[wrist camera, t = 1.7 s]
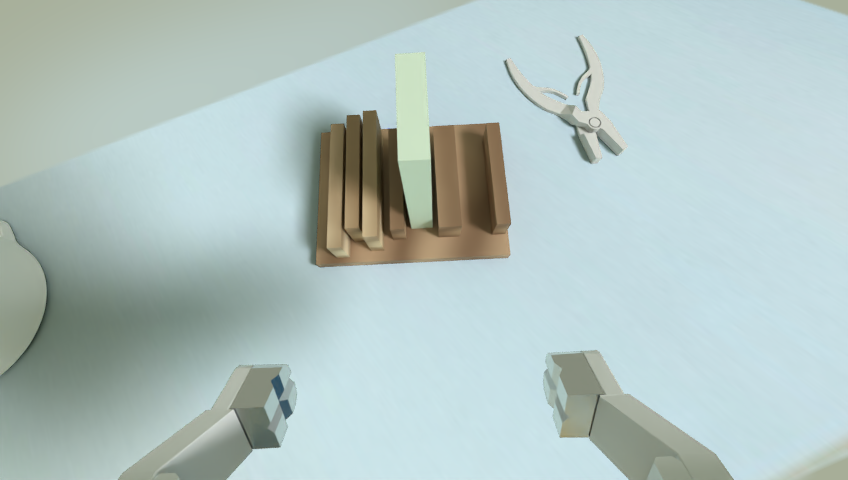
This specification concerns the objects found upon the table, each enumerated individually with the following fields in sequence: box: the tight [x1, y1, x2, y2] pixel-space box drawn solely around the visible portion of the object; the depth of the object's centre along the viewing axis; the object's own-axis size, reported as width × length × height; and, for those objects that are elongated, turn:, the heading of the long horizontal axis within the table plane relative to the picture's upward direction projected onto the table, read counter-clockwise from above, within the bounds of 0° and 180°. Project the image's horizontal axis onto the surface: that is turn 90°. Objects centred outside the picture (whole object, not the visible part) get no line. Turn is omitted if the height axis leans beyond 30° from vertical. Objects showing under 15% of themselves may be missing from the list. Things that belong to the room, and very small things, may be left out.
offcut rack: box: [316, 110, 511, 267], centre depth 34 cm, size 18×14×6 cm
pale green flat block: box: [395, 52, 433, 229], centre depth 29 cm, size 2×8×13 cm, turn 3°
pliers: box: [506, 35, 628, 164], centre depth 39 cm, size 10×2×15 cm
